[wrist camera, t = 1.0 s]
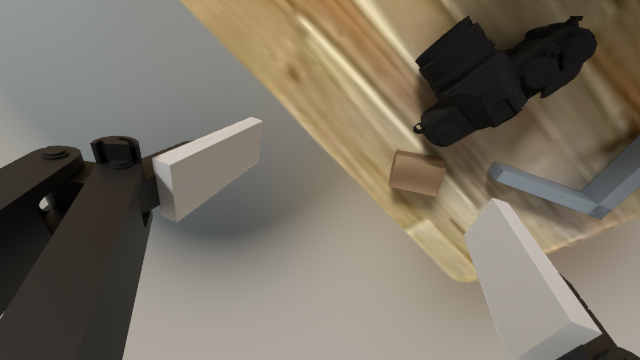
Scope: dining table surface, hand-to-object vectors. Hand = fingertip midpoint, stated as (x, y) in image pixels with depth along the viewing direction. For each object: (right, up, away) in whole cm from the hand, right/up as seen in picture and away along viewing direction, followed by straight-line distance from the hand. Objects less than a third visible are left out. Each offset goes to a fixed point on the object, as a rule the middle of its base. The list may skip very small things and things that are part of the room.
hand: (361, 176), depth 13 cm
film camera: (+14, +12, +14) cm, 24 cm away
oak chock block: (+11, +2, +20) cm, 23 cm away
